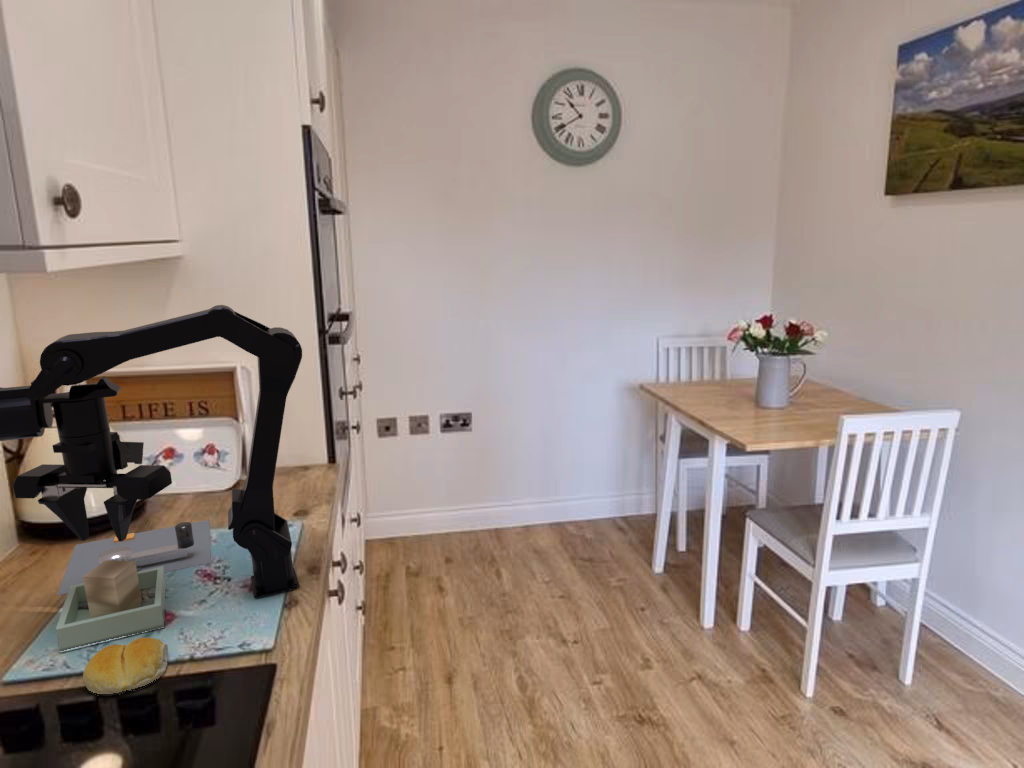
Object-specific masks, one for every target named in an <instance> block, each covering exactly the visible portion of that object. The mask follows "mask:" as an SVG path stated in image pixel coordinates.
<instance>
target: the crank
mask: <svg viewBox="0 0 1024 768" xmlns="http://www.w3.org/2000/svg"><path fill="white" fill-rule="evenodd" d="M191 523H192V522H189V521H185V522H180V523H177V524H175V525H174V526H175V531H176V537H177V544H176V545H171V546H166V547H161V548H156V549H151V550H146V551H141V552H136V553H131V549H130V548H129V547H116V548H112V549H109V550H106V551H104V552H102V553H101V554H100V555H99V556H98V559H99V564H101V563H102V562H104V561H105V560H106V561H135V563H136V567H137V566H141V565H146V564H151V563H156V562H161V561H166V560H171V559H175V558H180V557H185V556H187V548H188V547H191V546H193V545H194V539H193V532H192V525H191Z"/></svg>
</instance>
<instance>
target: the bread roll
mask: <svg viewBox="0 0 1024 768" xmlns="http://www.w3.org/2000/svg"><path fill="white" fill-rule="evenodd" d="M167 661H169V647H168V644H166V643H164V642H163V641H162V640H160V639H158V638H152V637H146V636H145V637H138V638H136V639H134V640H132V641H131V642H129V643H127V644H110V645H107V646H105V647H104V648H101V649H100V650H99V651H98V652H96V653H95V654H94V655H93V656H92V657H91V658H90V659H89V661H88V663H87V664H86V666H85V667H84V671H83V674H82V680H83V683H84V685H85V687H86V688H87V690H88V691H89V692H90V691H91V692H90V693H92V692H93V693H92V694H94V693H97V694H113V693H119V692H122V691H125V692H126V690H127V691H132V690H131V689H135V688H138V687H142V686H145V685H147V684H149V683H151V682H152V683H154V682H155V681H157V680H158V679H160V678H161V677H160V676H163V675H164V674H165V672H166V670H167V667H168V664H169V662H168V663H167ZM156 679H157V680H156ZM154 680H155V681H154ZM153 681H154V682H153ZM152 683H151V684H152ZM149 685H150V684H149ZM147 686H148V685H147ZM145 687H146V686H145Z"/></svg>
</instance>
